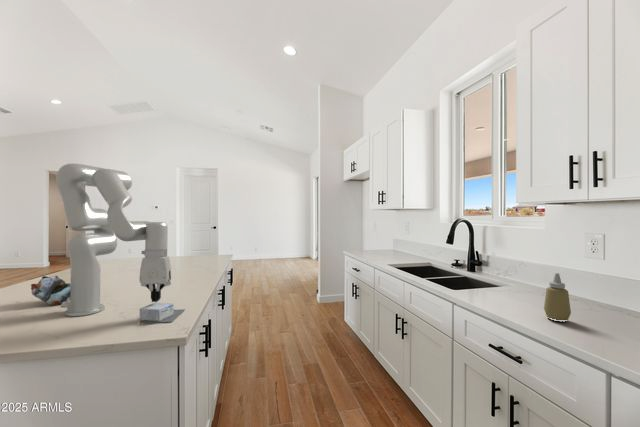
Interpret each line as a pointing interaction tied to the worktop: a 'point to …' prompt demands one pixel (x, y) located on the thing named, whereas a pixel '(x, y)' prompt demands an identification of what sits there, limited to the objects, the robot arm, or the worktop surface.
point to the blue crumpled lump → (52, 290)
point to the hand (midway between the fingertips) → (155, 300)
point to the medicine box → (156, 311)
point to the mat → (168, 319)
